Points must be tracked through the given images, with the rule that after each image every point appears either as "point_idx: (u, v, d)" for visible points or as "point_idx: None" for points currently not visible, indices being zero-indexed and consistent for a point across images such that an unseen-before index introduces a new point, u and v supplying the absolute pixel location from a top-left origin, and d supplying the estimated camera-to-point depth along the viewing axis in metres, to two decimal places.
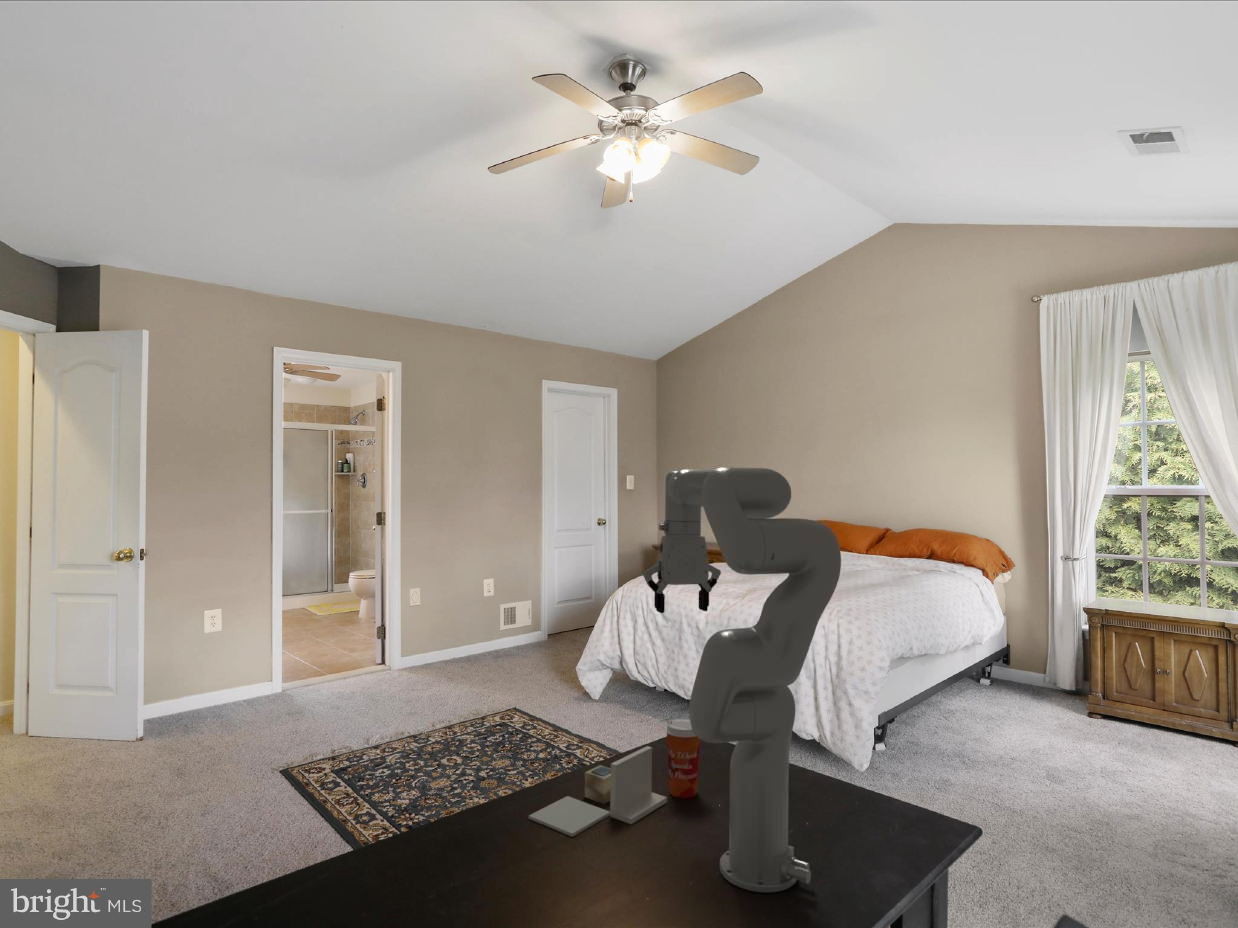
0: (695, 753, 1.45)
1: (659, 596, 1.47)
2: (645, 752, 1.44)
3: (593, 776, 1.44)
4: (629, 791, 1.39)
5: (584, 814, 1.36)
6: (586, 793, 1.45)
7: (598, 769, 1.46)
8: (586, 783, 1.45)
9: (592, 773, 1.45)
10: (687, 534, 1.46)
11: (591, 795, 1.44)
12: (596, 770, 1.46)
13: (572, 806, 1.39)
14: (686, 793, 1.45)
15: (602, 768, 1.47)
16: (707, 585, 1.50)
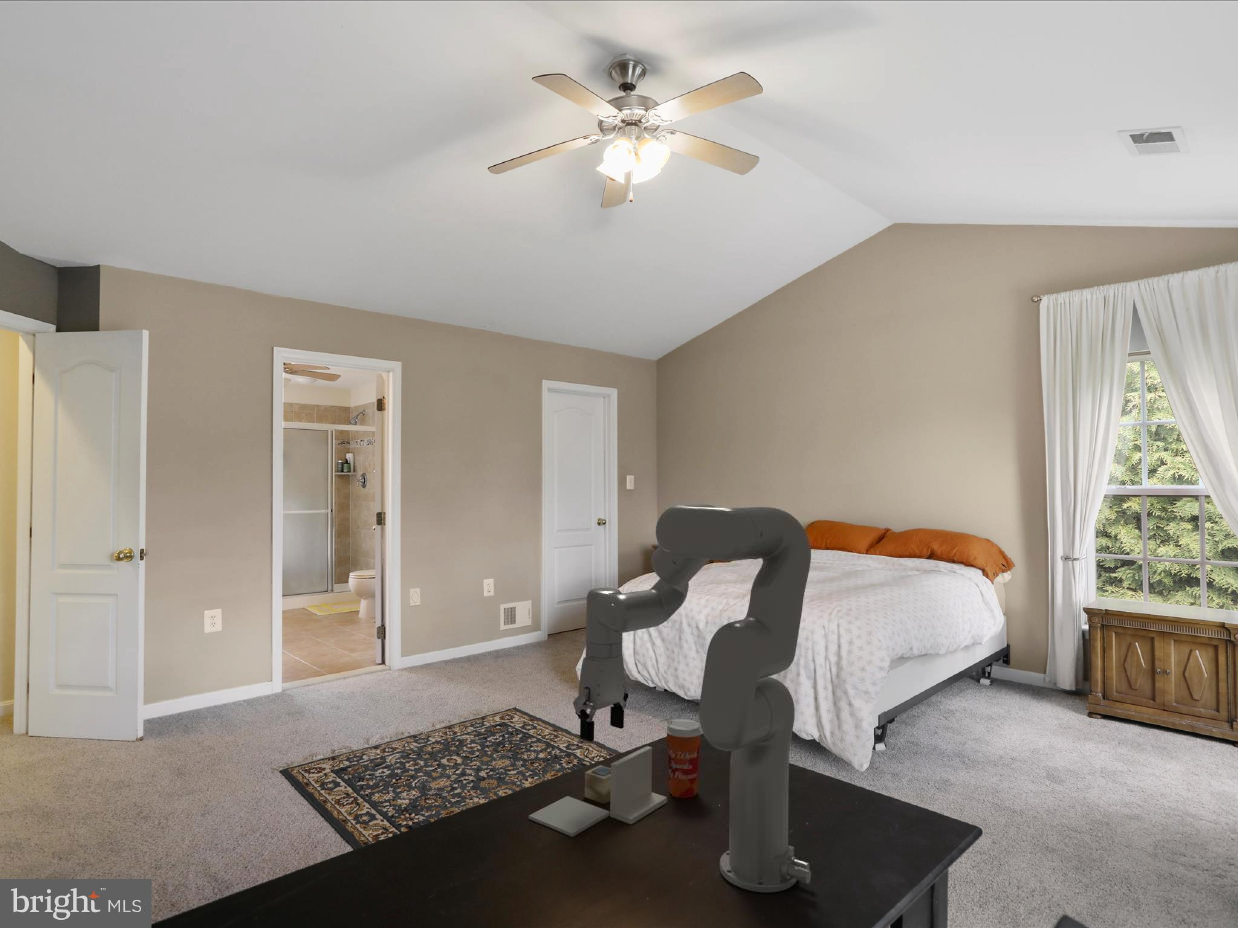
0: (695, 753, 1.45)
1: None
2: (645, 752, 1.44)
3: (593, 776, 1.44)
4: (629, 791, 1.39)
5: (584, 814, 1.36)
6: (586, 793, 1.45)
7: (598, 769, 1.46)
8: (586, 783, 1.45)
9: (592, 773, 1.45)
10: None
11: (591, 795, 1.44)
12: (596, 770, 1.46)
13: (572, 806, 1.39)
14: (686, 793, 1.45)
15: (602, 768, 1.47)
16: None
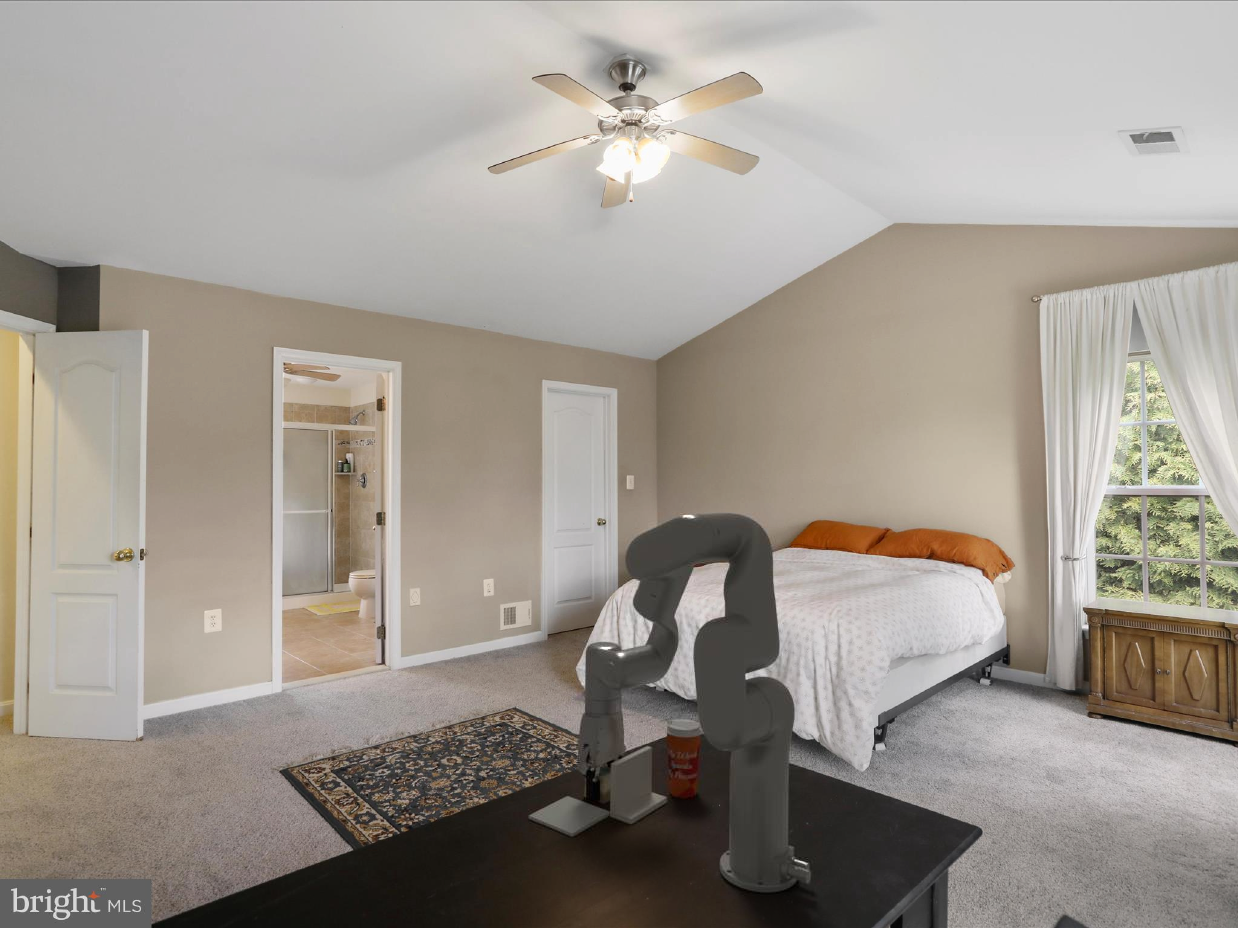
0: (695, 753, 1.45)
1: None
2: (645, 752, 1.44)
3: None
4: (629, 791, 1.39)
5: (584, 814, 1.36)
6: None
7: None
8: None
9: None
10: None
11: None
12: None
13: (572, 806, 1.39)
14: (686, 793, 1.45)
15: (602, 768, 1.47)
16: None
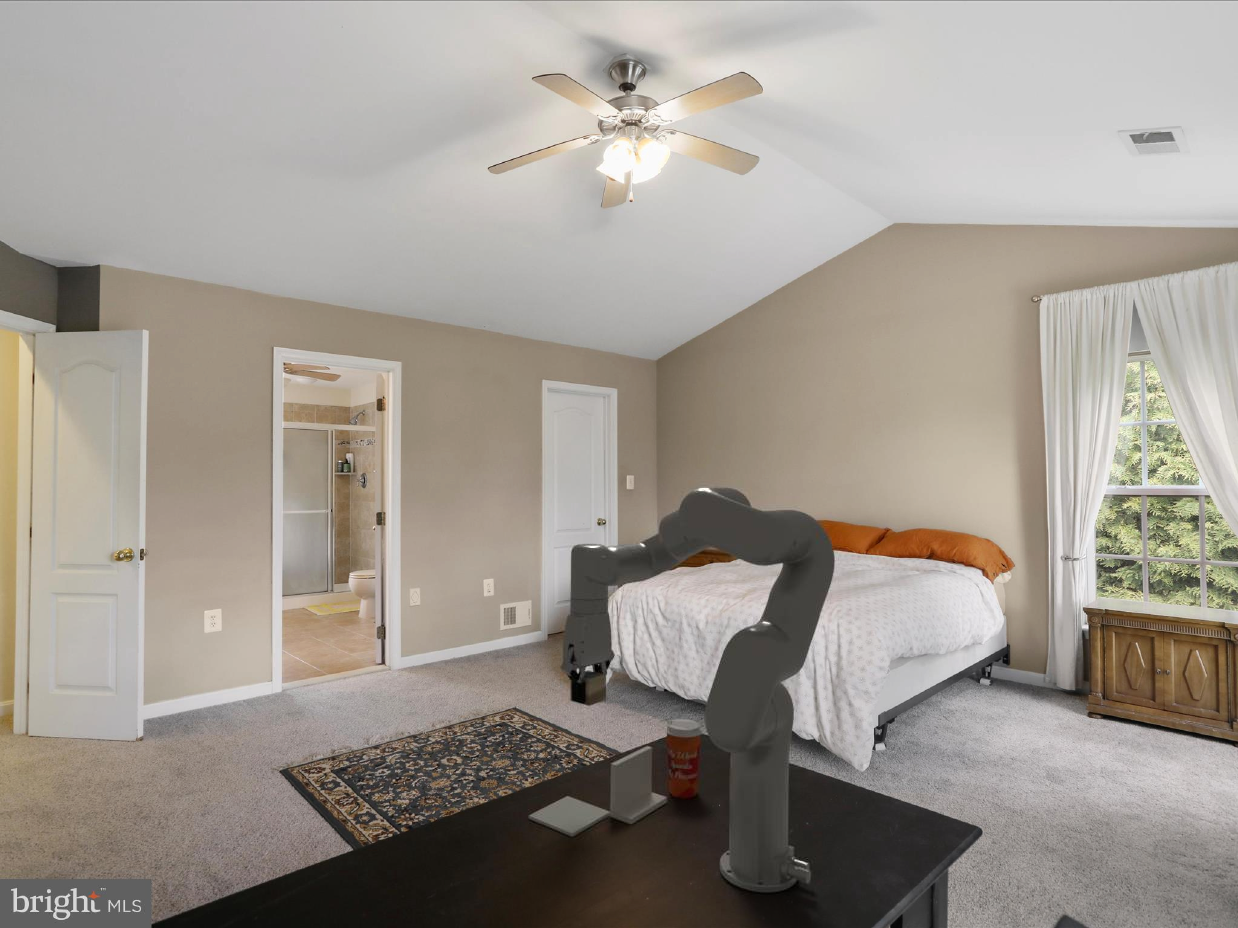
0: (695, 753, 1.45)
1: None
2: (645, 752, 1.44)
3: None
4: (629, 791, 1.39)
5: (584, 814, 1.36)
6: None
7: None
8: None
9: None
10: None
11: None
12: None
13: (572, 806, 1.39)
14: (686, 793, 1.45)
15: (588, 672, 1.43)
16: None
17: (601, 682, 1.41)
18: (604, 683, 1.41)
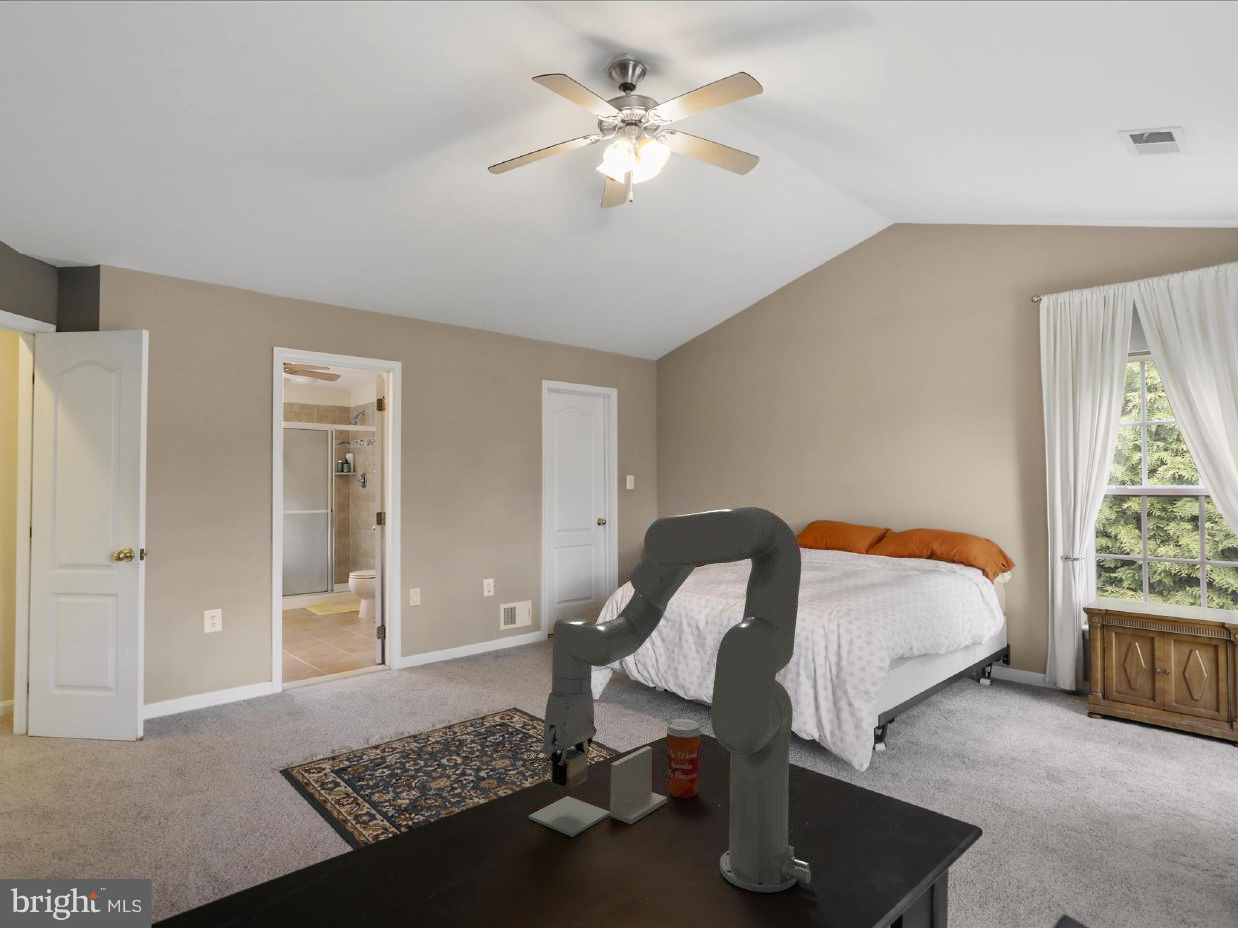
0: (695, 753, 1.45)
1: None
2: (645, 752, 1.44)
3: None
4: (629, 791, 1.39)
5: (584, 814, 1.36)
6: None
7: None
8: None
9: None
10: None
11: None
12: None
13: (572, 806, 1.39)
14: (686, 793, 1.45)
15: (569, 751, 1.38)
16: None
17: (582, 762, 1.36)
18: (585, 763, 1.37)
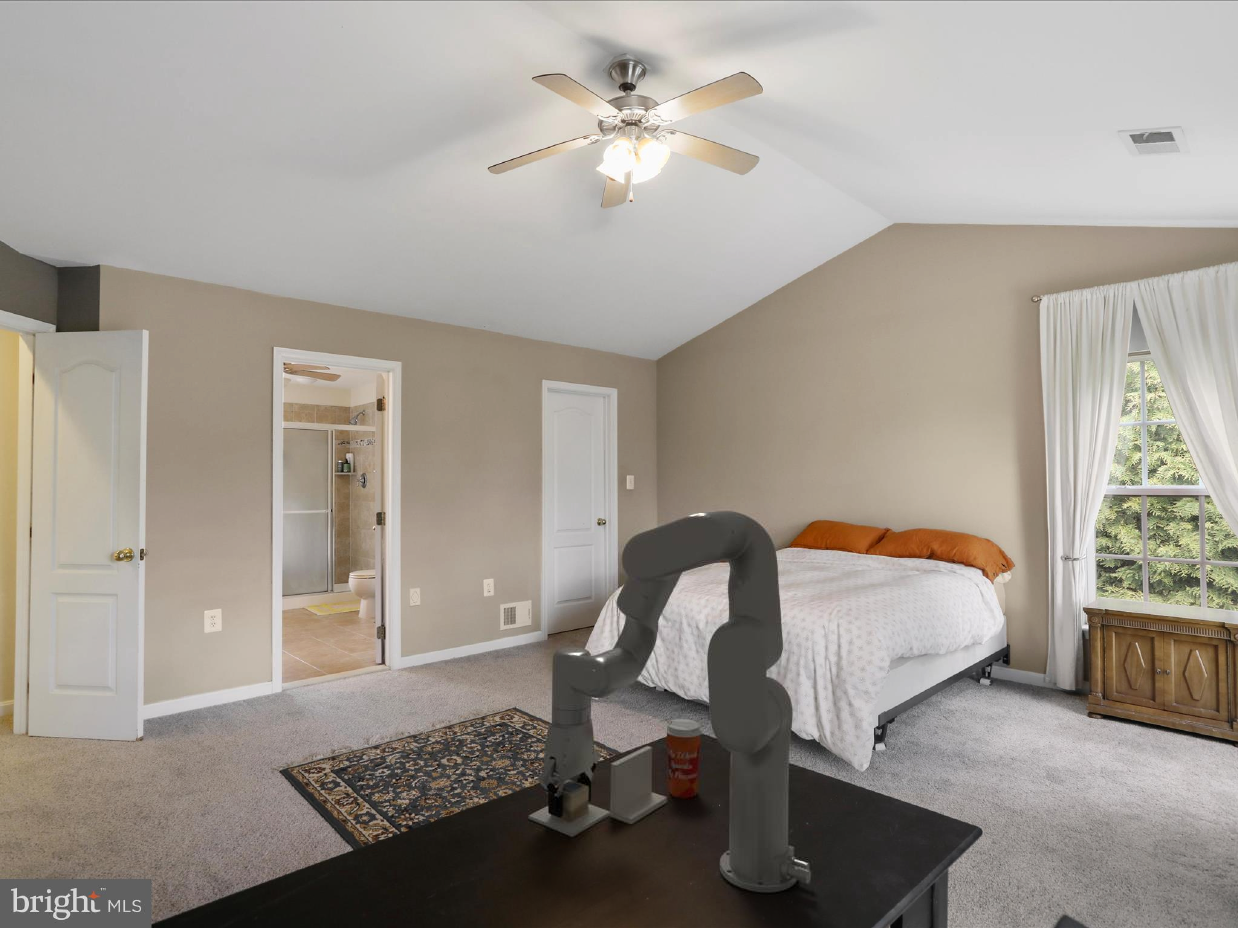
0: (695, 753, 1.45)
1: None
2: (645, 752, 1.44)
3: None
4: (629, 791, 1.39)
5: None
6: None
7: (566, 784, 1.37)
8: None
9: None
10: None
11: None
12: (564, 785, 1.36)
13: None
14: (686, 793, 1.45)
15: (570, 783, 1.37)
16: None
17: (583, 795, 1.36)
18: (586, 796, 1.36)
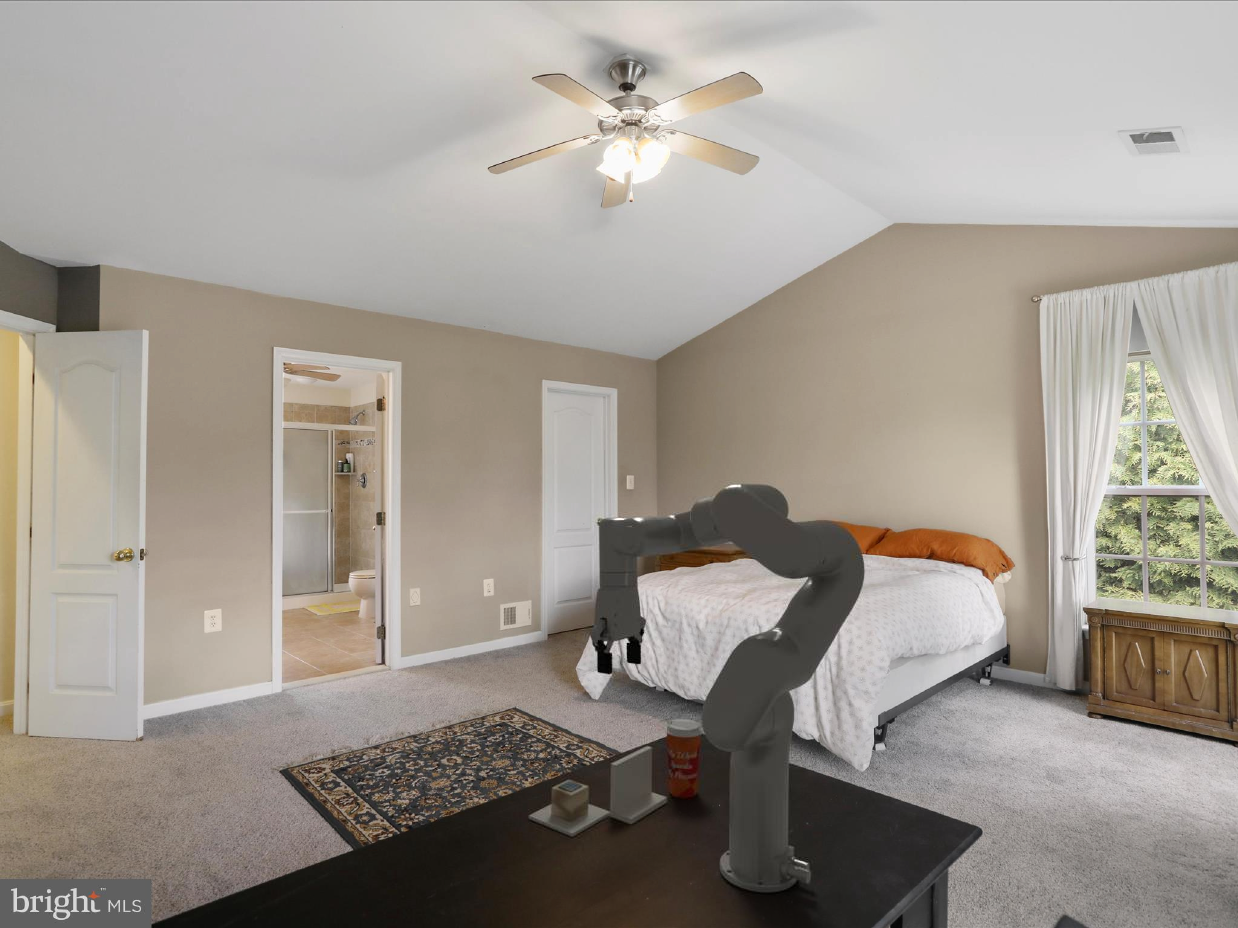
0: (695, 753, 1.45)
1: None
2: (645, 752, 1.44)
3: (560, 792, 1.34)
4: (629, 791, 1.39)
5: None
6: (553, 810, 1.35)
7: (566, 784, 1.37)
8: (553, 799, 1.35)
9: (559, 789, 1.35)
10: None
11: (558, 812, 1.35)
12: (564, 785, 1.36)
13: None
14: (686, 793, 1.45)
15: (570, 783, 1.37)
16: None
17: (583, 795, 1.36)
18: (586, 796, 1.36)
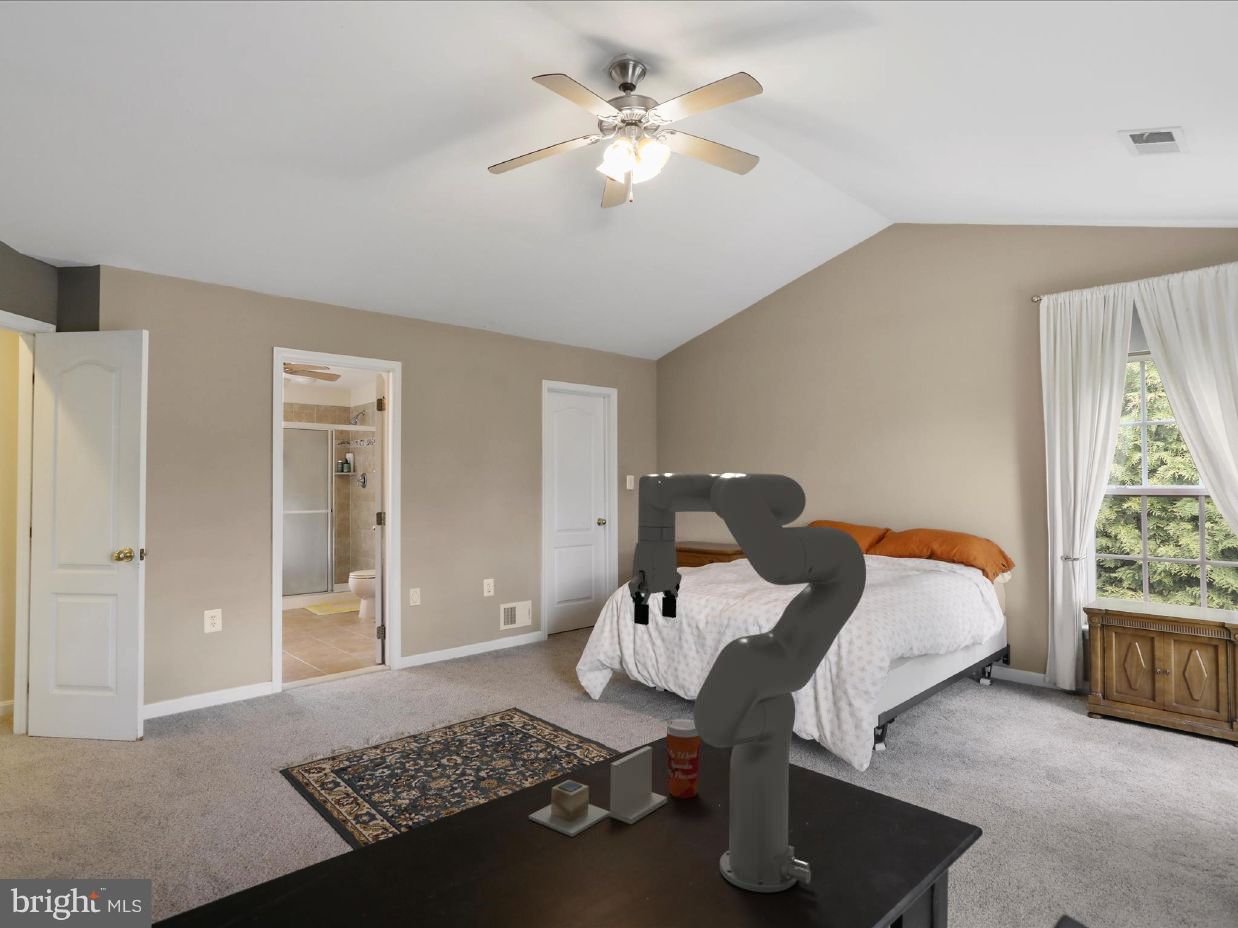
0: (695, 753, 1.45)
1: None
2: (645, 752, 1.44)
3: (560, 792, 1.34)
4: (629, 791, 1.39)
5: None
6: (553, 810, 1.35)
7: (566, 784, 1.37)
8: (553, 799, 1.35)
9: (559, 789, 1.35)
10: None
11: (558, 812, 1.35)
12: (564, 785, 1.36)
13: None
14: (686, 793, 1.45)
15: (570, 783, 1.37)
16: None
17: (583, 795, 1.36)
18: (586, 796, 1.36)
